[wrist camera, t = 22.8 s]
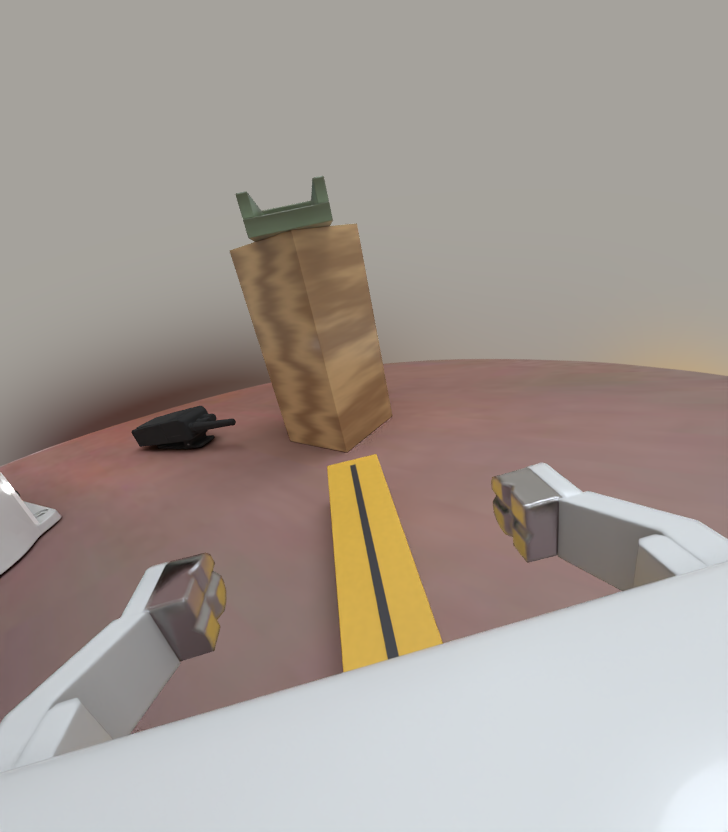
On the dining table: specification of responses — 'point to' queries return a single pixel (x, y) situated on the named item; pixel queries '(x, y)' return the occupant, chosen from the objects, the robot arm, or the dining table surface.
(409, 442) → the dining table surface
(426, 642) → the pencil case
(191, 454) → the dining table surface
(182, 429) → the walkie-talkie
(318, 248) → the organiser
